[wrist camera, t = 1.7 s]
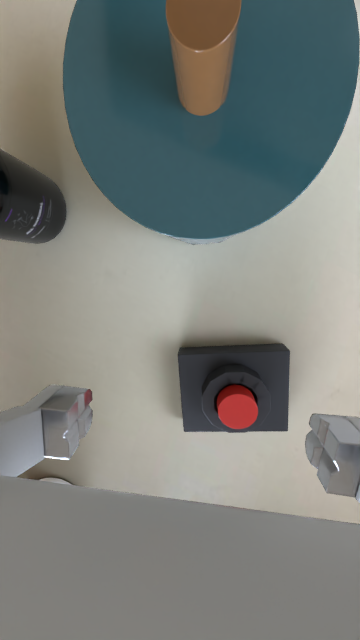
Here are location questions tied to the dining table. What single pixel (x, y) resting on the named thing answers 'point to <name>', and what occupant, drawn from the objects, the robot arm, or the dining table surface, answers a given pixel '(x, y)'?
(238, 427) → the release button
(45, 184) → the supplement bottle
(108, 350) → the dining table surface
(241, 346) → the box
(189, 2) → the jar lid
